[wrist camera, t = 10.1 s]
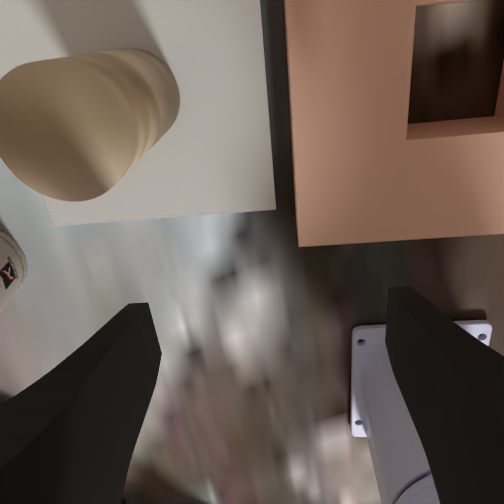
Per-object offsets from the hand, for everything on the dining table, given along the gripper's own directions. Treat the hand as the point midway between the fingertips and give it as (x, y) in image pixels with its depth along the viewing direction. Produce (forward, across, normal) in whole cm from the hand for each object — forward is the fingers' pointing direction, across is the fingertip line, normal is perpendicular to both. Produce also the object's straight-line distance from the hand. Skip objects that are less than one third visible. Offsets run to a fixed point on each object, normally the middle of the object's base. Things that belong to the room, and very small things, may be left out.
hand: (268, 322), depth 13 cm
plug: (+10, +6, -6) cm, 13 cm away
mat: (+11, +6, -6) cm, 13 cm away
